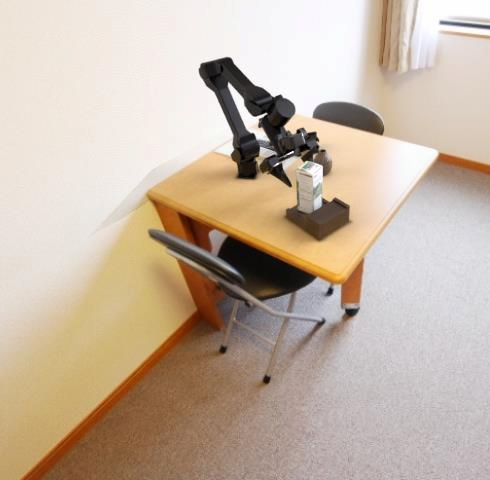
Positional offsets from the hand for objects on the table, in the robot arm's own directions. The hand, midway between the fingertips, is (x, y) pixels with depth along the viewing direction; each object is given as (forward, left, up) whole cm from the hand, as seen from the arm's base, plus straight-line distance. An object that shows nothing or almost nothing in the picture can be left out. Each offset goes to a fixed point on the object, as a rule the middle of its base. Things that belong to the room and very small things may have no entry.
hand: (303, 181), depth 104 cm
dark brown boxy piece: (+5, -4, -11) cm, 13 cm away
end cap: (-6, +39, -11) cm, 42 cm away
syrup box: (+2, -2, -9) cm, 9 cm away
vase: (+3, +23, -11) cm, 26 cm away
